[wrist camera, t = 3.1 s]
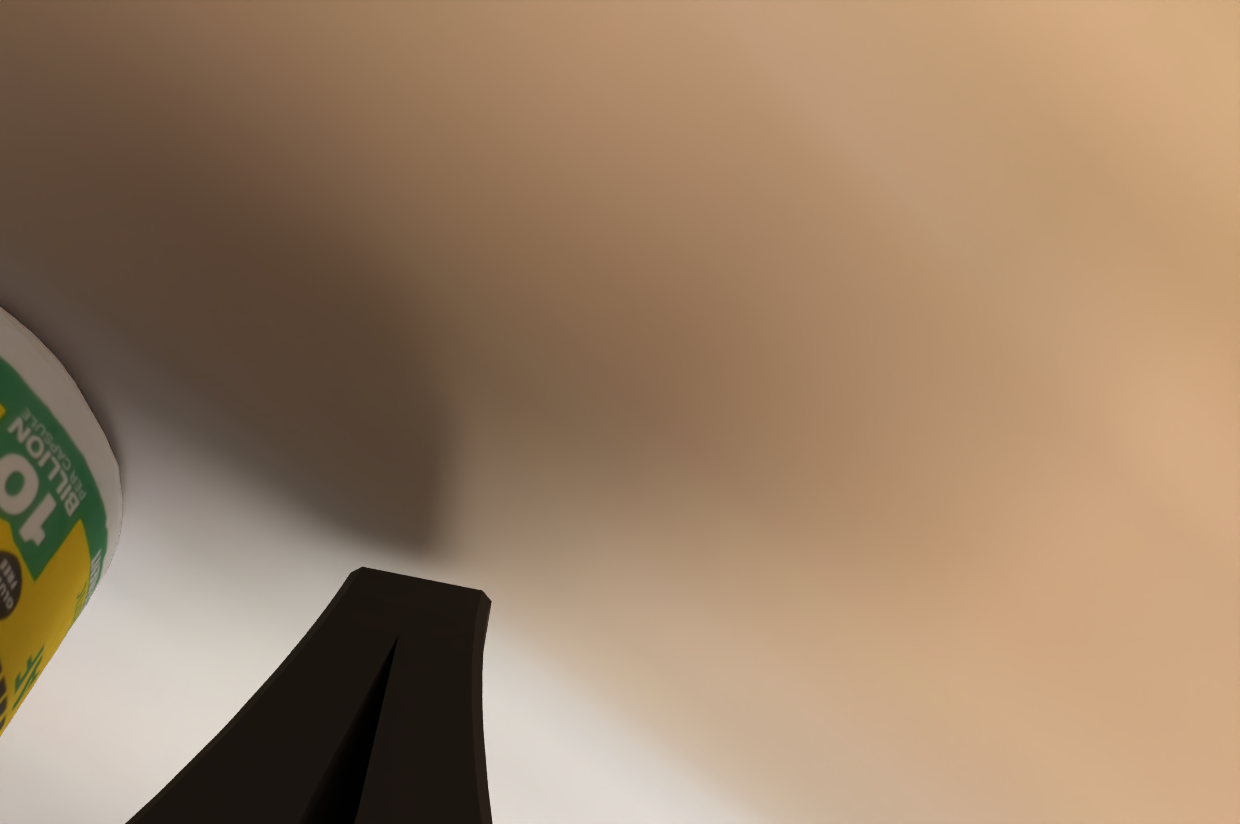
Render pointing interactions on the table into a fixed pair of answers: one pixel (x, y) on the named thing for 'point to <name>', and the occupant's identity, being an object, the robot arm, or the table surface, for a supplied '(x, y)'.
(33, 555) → the supplement bottle
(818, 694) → the table surface
